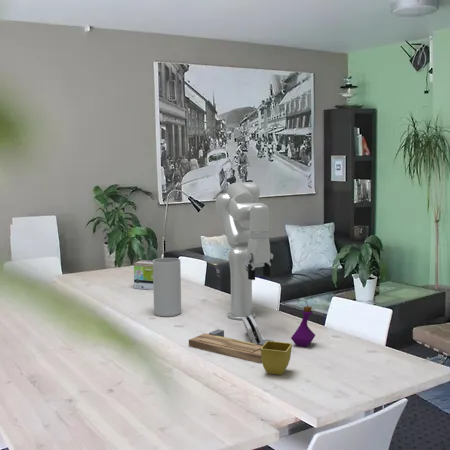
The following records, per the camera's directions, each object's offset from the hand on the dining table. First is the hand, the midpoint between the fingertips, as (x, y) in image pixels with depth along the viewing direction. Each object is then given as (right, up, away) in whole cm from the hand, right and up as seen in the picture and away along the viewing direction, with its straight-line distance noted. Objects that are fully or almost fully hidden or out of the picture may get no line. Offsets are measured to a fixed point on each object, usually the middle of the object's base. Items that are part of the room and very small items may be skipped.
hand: (259, 277), depth 231 cm
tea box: (-56, -14, +88) cm, 105 cm away
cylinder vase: (-40, -20, +34) cm, 56 cm away
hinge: (-3, -24, -5) cm, 25 cm away
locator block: (-17, -24, -5) cm, 30 cm away
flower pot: (+3, -28, -40) cm, 49 cm away
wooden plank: (-12, -25, -19) cm, 34 cm away
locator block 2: (+1, -25, -18) cm, 31 cm away
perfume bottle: (+16, -25, -13) cm, 32 cm away
